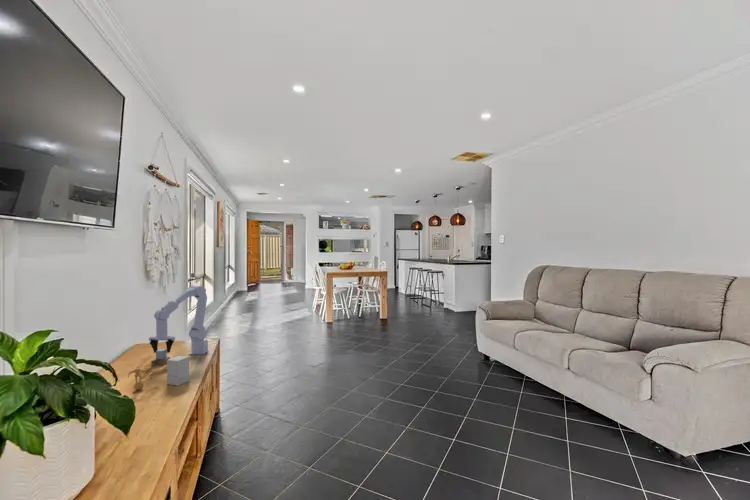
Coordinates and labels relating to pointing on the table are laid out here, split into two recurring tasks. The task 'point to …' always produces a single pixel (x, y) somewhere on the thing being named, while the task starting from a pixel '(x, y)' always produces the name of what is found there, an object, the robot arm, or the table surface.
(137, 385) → the figurine
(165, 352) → the blue block
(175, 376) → the supplement box
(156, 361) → the walnut pedestal
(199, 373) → the table surface
